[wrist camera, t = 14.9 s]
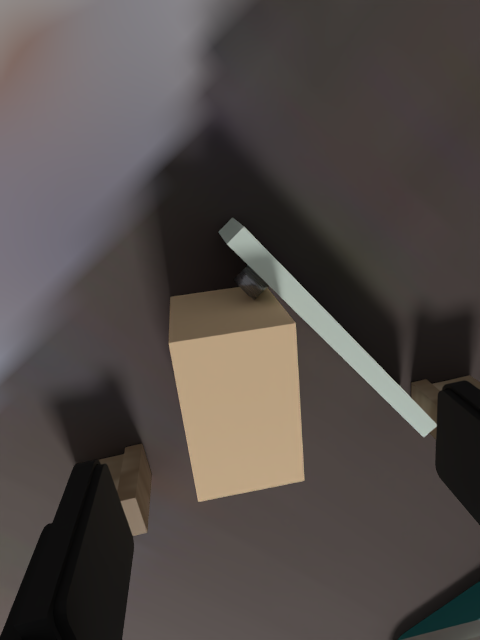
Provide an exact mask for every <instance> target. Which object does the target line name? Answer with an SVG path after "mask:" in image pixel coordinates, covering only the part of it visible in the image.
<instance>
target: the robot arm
mask: <svg viewBox="0 0 480 640" xmlns="http://www.w3.org/2000/svg"><path fill="white" fill-rule="evenodd" d="M435 465H436V470H437V473H438V475H439V477H440V478H441V480H442V481H443V482H444V483H445V484H446V486H447V487H448V488H449V489H450V490H451V492H452V493H453V494H454V495H455V496H456V497H457V499H458V500H459V501H460V502H461V503H462V505H463V506H464V507H465V508H466V509H467V510H468V512H469V513H470V514H471V515H472V516H473V518H474V519H475V520H476V521H477V522H478V523H479V525H480V389H478V388H477V387H475V386H474V385H473V384H471V383H470V382H468V381H465V380H463V381H458V382H454V383H449V384H445V385H444V386H443V388H442V391H439V393H438V399H437V431H436V462H435ZM133 552H134V541H133V536H132V533H131V530H130V527H129V524H128V521H127V518H126V515H125V513H124V510H123V507H122V504H121V501H120V498H119V496H118V493H117V490H116V487H115V484H114V481H113V479H112V476H111V473H110V470H109V467H108V465H107V464H101V463H100V461H99V460H93V461H88V462H83V463H79V464H76V465H75V466H74V467H73V470H72V472H71V475H70V478H69V480H68V483H67V486H66V488H65V491H64V494H63V496H62V499H61V502H60V504H59V507H58V510H57V512H56V515H55V518H54V520H53V523H51V524H47V525H46V526H45V527H44V529H43V531H42V533H41V535H40V538H39V540H38V543H37V545H36V548H35V550H34V553H33V555H32V558H31V560H30V563H29V565H28V568H27V571H26V573H25V576H24V578H23V581H22V583H21V586H20V588H19V591H18V593H17V596H16V598H15V601H14V603H13V606H12V608H11V611H10V613H9V616H8V618H7V621H6V624H5V626H4V629H3V631H2V634H1V636H0V640H122V635H123V628H124V620H125V612H126V605H127V597H128V590H129V582H130V575H131V567H132V559H133ZM402 640H480V620H476V621H472V622H468V623H464V624H460V625H456V626H452V627H448V628H444V629H441V630H437V631H433V632H429V633H425V634H421V635H418V636H414V637H410V638H406V639H402Z"/></svg>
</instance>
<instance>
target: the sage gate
mask: <svg viewBox="0 0 480 640" xmlns="http://www.w3.org/2000/svg"><path fill="white" fill-rule="evenodd" d="M218 233H219V234H220V235H221V237H222V238H223V240H224V241H225V242H226V244H227V245H228V246H229V247H230V248H231V249H232V250H233V251H234V252H235V253H236V254H237V255H238V256H239V257H240V258H241V259H242V260H243V261H244V262H245V263H247V264H248V265H247V266H246V267H245V268H244V269H243V270H242V271H241V272H240V273H239V274H238V275H237V276H236V277H235V278H234V281H235V282H236V283H237V284H238V285H239V287H240V288H241V289H242V290H243V291H244V292H245V293H246V294H247V295H249V296H250V297H251V298H252V299H253V300H255V299H256V298H257V297H258V296H259V295H260V294H261V293H262V292H263V291H264V290H265V289H266V288H267V287H268V286H270V287H271V288H272V289H273V290H274V291H275V292H276V293H277V294H278V295H279V296H280V297H281V298H282V299H283V300H284V301H285V302H286V303H287V304H288V305H289V306H290V307H291V308H292V309H293V310H294V311H295V312H296V313H297V314H298V315H300V316H301V317H302V318H303V319H304V320H305V321H306V322H307V323H308V324H309V325H310V326H311V327H312V328H313V329H314V330H315V331H316V332H317V333H318V334H319V335H320V336H321V337H322V338H323V339H324V340H325V341H326V342H327V343H328V344H329V345H330V346H331V347H332V348H333V349H334V350H335V351H336V352H337V353H338V354H339V355H340V356H341V357H342V358H343V359H344V360H345V361H346V362H347V363H348V364H349V365H350V366H351V367H353V368H354V369H355V370H356V371H357V372H358V373H359V374H360V375H361V376H362V377H363V378H364V379H365V380H366V381H367V382H368V383H369V384H370V385H371V386H372V387H373V388H374V389H375V390H376V391H377V392H378V393H379V394H380V395H381V396H382V397H383V398H384V399H385V400H386V401H387V402H388V403H389V404H390V405H391V406H392V407H393V408H394V409H395V410H396V411H397V412H398V413H399V414H400V415H401V416H402V417H403V418H404V419H406V420H407V421H408V422H409V423H410V424H411V425H412V426H413V427H414V428H415V429H416V430H417V431H418V432H419V433H420V434H421V435H422V436H423V437H425V436H426V435H427V434H428V433H430V432H431V431H432V430H433V429H434V428H435V427H437V424H436V423H435V422H434V421H433V420H432V419H431V418H430V417H429V416H428V415H427V414H426V413H425V412H424V411H423V410H422V408H421V407H420V406H419V405H418V404H417V403H416V402H415V401H414V400H413V399H412V398H411V397H410V396H409V395H408V394H407V393H406V392H405V391H404V390H403V389H402V388H401V387H400V386H399V385H398V384H397V383H396V382H395V381H394V380H393V379H392V378H391V377H390V376H389V375H388V374H387V373H386V372H385V371H384V370H383V368H382V367H381V366H380V365H379V364H378V363H377V362H376V361H375V360H374V359H373V358H372V357H371V356H370V355H369V354H368V353H367V352H366V351H365V350H364V349H363V348H362V347H361V346H360V345H359V344H358V343H357V342H356V341H355V340H354V339H353V338H352V337H351V336H350V335H349V334H348V333H347V332H346V331H345V330H344V328H343V327H342V326H341V325H340V324H339V323H338V322H337V321H336V320H335V319H334V318H333V317H332V316H331V315H330V314H329V313H328V312H327V311H326V310H325V309H324V308H323V307H322V306H321V305H320V304H319V303H318V302H317V301H316V300H315V299H314V298H313V297H312V296H311V295H310V294H309V293H308V292H307V291H306V290H305V288H304V287H303V286H302V285H301V284H300V283H299V282H298V281H297V280H296V279H295V278H294V277H293V276H292V275H291V274H290V273H289V272H288V271H287V270H286V269H285V268H284V267H283V266H282V265H281V264H280V263H279V262H278V261H277V260H276V259H275V258H274V257H273V256H272V255H271V254H270V253H269V252H268V251H267V250H266V248H265V247H264V246H263V245H262V244H261V243H260V242H259V241H258V240H257V239H256V238H255V237H254V236H253V235H252V234H251V233H250V232H249V231H248V230H247V229H246V228H245V227H244V226H243V225H242V224H240V223H239V222H238V221H237V220H235V219H234V218H233V217H232V218H231V219H230V220H229V221H228V222H227V223H226V224H225V226H224V227H223V228H222V229H221V230H220V231H219V232H218Z"/></svg>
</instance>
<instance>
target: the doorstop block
mask: <svg viewBox="0 0 480 640" xmlns="http://www.w3.org/2000/svg"><path fill="white" fill-rule="evenodd" d="M169 348H170V353H171V358H172V364H173V369H174V374H175V380H176V385H177V390H178V396H179V401H180V407H181V412H182V417H183V423H184V428H185V433H186V439H187V444H188V449H189V455H190V460H191V465H192V471H193V476H194V482H195V487H196V492H197V498H198V502H201V501H206V500H211V499H216V498H221V497H226V496H231V495H236V494H240V493H245V492H250V491H255V490H260V489H265V488H270V487H275V486H280V485H285V484H290V483H295V482H300V481H304V464H303V446H302V428H301V410H300V392H299V374H298V355H297V337H296V323H295V322H294V320H293V319H292V318H291V317H290V315H289V314H288V313H287V312H286V310H285V309H284V308H283V307H282V305H281V304H280V303H279V302H278V300H277V299H276V298H275V297H274V295H273V294H272V293H271V292H270V290H269V289H268V288H266V289H265V290H264V291H263V292H262V293H261V294H260V295H259V296H258V297H257V298H256V299H255V300H253V299H252V298H251V297H250V296H249V295H247V294H246V293H245V292H244V291H243V290H242V289H241V288H240V287H235V288H228V289H221V290H214V291H207V292H200V293H193V294H186V295H180V296H173V297H170V320H169Z"/></svg>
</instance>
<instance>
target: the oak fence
mask: <svg viewBox="0 0 480 640" xmlns="http://www.w3.org/2000/svg"><path fill="white" fill-rule="evenodd" d="M463 380H465V381H468V382H470V383H471V384H473V385H474V386H475V387H477V388H478V389H480V382H479V381H477V380H476V379H474V378H473V377H471V376H470V375H469V376H465V377H460V378H456V379H451V380H447V381H443V382H438V383H434V384H431V383H430V382H429V381H428V380H427V379H425V380H420V381H416V382H412V383H411V398H412V399H413V400H414V401H415V402H416V403H417V404H418V405H419V406H420V407H421V408H422V410H423V411H424V412H425V413H426V414H427V415H428V416H429V417H430V418H431V419H432V420H433V421H434V422H435V423H436V424H437V399H438V393H439V391H442V388H443V386H444V385H445V384H449V383H454V382H458V381H463ZM436 431H437V427H435V428H434V429H433V430H432V431H431V432H430V434H431V435H432V436H433V437H434V438H435V439H436ZM99 461H100V463H101V464H107V465H108V467H109V470H110V473H111V476H112V479H113V481H114V484H115V487H116V490H117V493H118V496H119V498H120V501H121V504H122V507H123V510H124V513H125V515H126V518H127V521H128V524H129V527H130V530H131V533H132V536H135V535H139V534H143V533H147V529H148V516H149V503H150V490H151V477H152V474H151V471H150V467H149V464H148V461H147V458H146V454H145V451H144V448H143V445H142V444H137V445H133V446H128V447H125V451H124V454H122V455H117V456H113V457H109V458H104V459H100V460H99Z"/></svg>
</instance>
